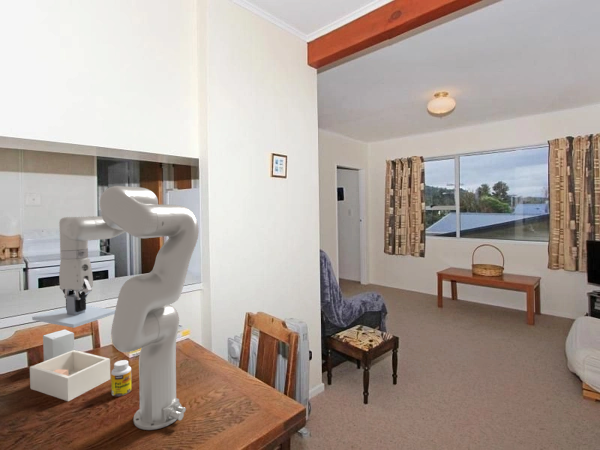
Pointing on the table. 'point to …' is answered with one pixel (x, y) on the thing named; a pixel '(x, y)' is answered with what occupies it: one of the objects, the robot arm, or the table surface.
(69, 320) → the lid
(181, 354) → the table surface
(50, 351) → the supplement box
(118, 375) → the supplement bottle
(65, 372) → the terracotta block
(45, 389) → the storage box
